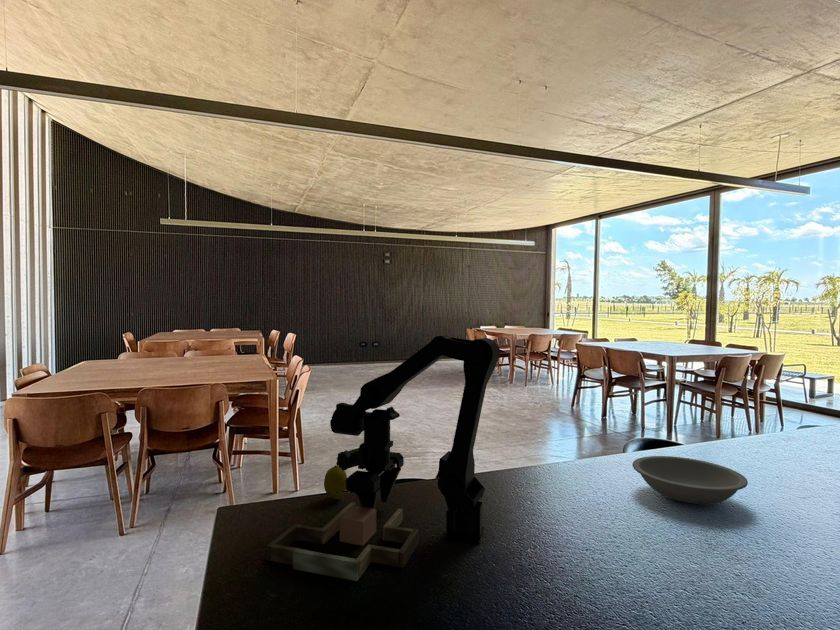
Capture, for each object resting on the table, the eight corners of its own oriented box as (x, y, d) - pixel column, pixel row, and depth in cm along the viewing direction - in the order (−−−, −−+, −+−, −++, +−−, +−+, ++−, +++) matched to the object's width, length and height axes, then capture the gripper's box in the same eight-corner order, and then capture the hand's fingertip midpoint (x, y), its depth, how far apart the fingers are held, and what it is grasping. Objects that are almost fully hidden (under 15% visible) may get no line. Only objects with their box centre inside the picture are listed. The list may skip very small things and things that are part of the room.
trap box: (429, 524, 93) (429, 510, 93) (391, 587, 71) (391, 568, 71) (327, 509, 100) (327, 496, 100) (262, 563, 78) (263, 545, 78)
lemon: (342, 504, 103) (342, 470, 103) (319, 502, 104) (320, 468, 104) (350, 495, 108) (351, 462, 108) (329, 493, 109) (329, 461, 109)
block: (376, 531, 90) (376, 509, 90) (362, 545, 84) (363, 521, 84) (354, 527, 91) (354, 505, 91) (339, 541, 86) (339, 517, 86)
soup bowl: (636, 508, 102) (636, 479, 102) (629, 475, 124) (629, 451, 124) (763, 527, 93) (763, 496, 93) (731, 488, 115) (731, 462, 115)
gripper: (361, 425, 108) (360, 489, 108) (322, 446, 90) (321, 523, 90) (404, 429, 104) (404, 495, 104) (372, 451, 87) (372, 531, 86)
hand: (376, 509), depth 96 cm, fingers open, 8 cm apart
